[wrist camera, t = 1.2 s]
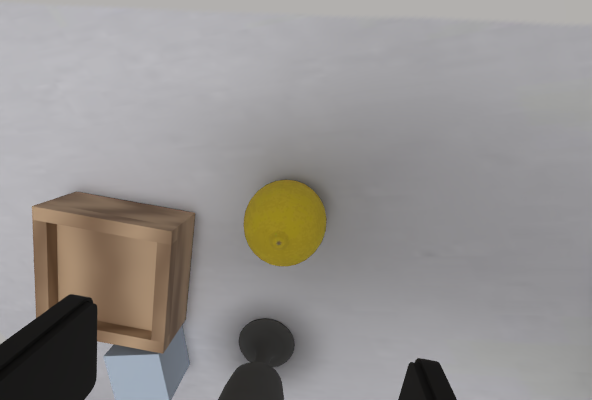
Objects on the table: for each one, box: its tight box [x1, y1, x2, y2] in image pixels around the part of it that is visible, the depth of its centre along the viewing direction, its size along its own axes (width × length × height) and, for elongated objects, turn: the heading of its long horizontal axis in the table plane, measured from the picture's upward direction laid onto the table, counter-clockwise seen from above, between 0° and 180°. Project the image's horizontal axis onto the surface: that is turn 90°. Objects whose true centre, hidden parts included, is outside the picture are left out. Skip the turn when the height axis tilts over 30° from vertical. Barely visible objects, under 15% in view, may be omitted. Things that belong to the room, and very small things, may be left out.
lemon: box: [244, 180, 326, 266], centre depth 24 cm, size 6×6×8 cm
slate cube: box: [103, 326, 190, 400], centre depth 30 cm, size 4×4×4 cm
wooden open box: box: [32, 192, 195, 354], centre depth 27 cm, size 10×10×4 cm
